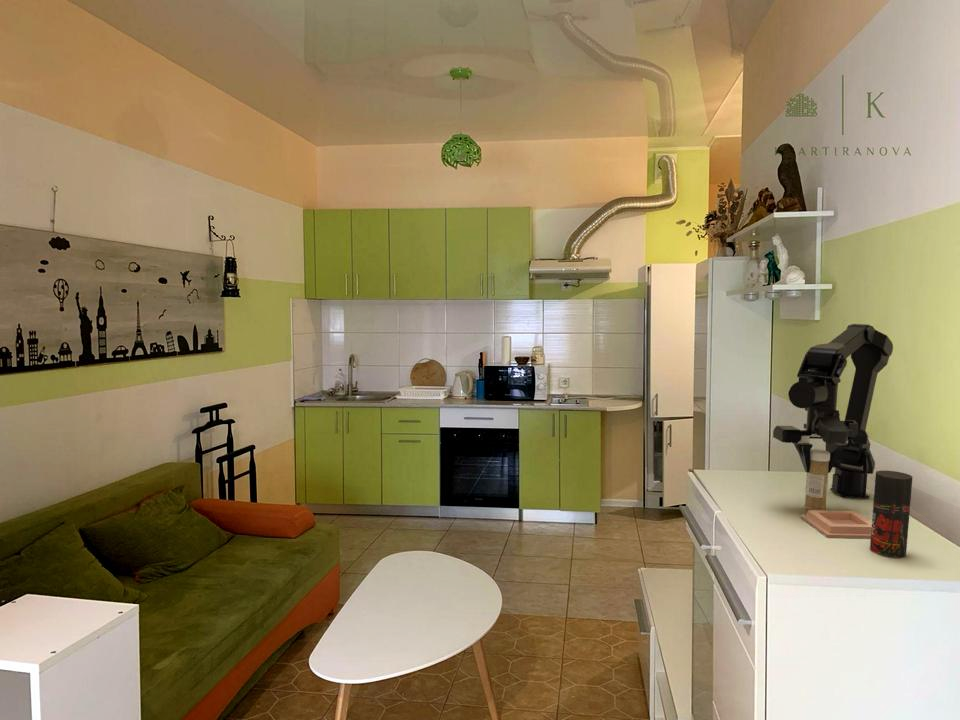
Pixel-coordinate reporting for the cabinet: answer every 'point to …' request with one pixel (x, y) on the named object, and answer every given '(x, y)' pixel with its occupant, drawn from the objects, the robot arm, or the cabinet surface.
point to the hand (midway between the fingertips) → (817, 472)
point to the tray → (839, 523)
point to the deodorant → (891, 514)
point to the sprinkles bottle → (817, 480)
